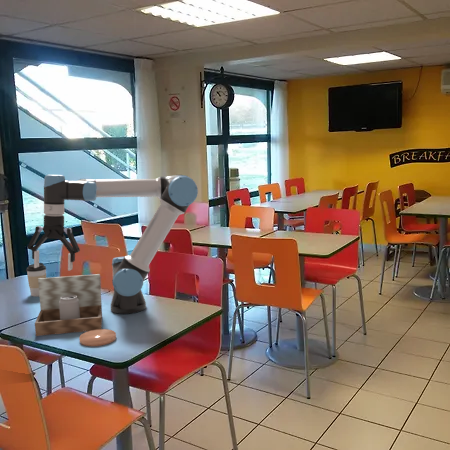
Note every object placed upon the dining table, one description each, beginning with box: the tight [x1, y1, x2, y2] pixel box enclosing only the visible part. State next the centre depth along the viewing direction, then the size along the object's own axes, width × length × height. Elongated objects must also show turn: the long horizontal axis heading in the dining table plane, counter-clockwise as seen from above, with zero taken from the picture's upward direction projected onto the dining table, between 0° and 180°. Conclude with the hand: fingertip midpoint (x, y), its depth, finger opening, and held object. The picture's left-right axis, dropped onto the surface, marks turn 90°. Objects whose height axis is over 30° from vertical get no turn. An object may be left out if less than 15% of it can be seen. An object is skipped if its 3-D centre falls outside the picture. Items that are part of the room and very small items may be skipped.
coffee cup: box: [25, 262, 47, 297], centre depth 243 cm, size 9×9×15 cm
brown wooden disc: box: [78, 328, 117, 347], centre depth 184 cm, size 13×13×2 cm
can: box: [59, 295, 80, 320], centre depth 198 cm, size 8×8×12 cm
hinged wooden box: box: [34, 273, 103, 337], centre depth 198 cm, size 24×17×18 cm
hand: (53, 268), depth 197 cm, fingers open, 13 cm apart
